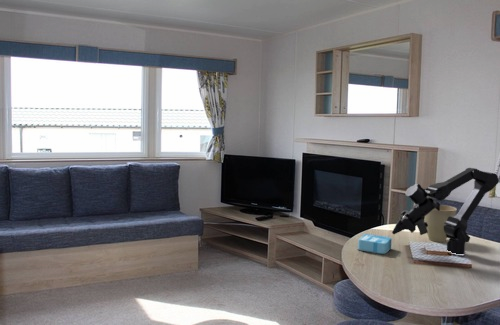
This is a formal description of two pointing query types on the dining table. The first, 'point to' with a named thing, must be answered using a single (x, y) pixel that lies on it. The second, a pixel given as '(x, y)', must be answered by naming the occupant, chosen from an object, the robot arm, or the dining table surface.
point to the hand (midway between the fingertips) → (392, 233)
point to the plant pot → (438, 222)
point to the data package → (374, 243)
